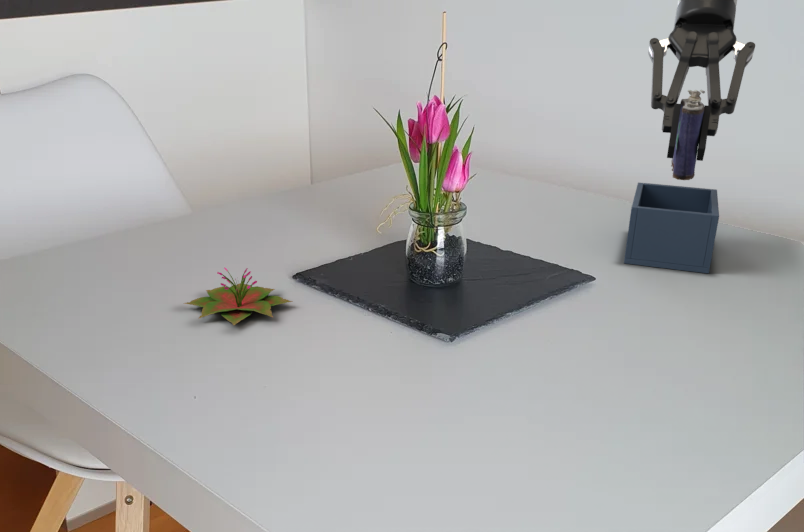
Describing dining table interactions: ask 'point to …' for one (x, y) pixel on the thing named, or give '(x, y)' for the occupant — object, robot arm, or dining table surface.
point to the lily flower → (237, 300)
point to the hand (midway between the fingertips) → (685, 153)
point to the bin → (672, 227)
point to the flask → (688, 136)
